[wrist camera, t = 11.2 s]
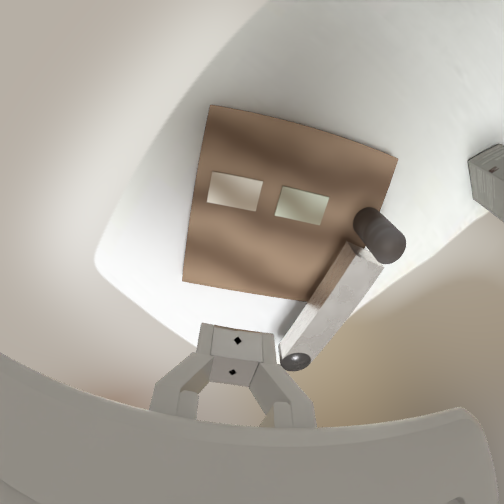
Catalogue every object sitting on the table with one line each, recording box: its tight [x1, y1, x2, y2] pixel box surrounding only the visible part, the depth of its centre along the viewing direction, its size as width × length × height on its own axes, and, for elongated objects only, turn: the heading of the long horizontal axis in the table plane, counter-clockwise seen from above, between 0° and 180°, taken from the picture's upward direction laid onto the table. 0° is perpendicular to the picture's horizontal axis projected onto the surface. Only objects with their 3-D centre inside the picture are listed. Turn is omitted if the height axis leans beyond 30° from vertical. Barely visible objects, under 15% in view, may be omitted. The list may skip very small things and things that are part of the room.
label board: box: [182, 105, 406, 302], centre depth 27 cm, size 20×21×8 cm
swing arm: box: [278, 241, 384, 371], centre depth 32 cm, size 18×4×3 cm, turn 157°
